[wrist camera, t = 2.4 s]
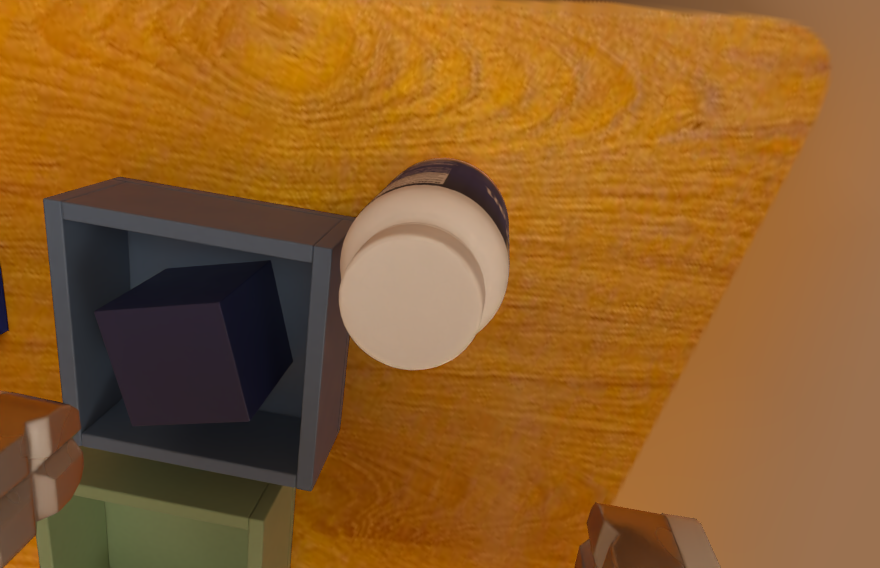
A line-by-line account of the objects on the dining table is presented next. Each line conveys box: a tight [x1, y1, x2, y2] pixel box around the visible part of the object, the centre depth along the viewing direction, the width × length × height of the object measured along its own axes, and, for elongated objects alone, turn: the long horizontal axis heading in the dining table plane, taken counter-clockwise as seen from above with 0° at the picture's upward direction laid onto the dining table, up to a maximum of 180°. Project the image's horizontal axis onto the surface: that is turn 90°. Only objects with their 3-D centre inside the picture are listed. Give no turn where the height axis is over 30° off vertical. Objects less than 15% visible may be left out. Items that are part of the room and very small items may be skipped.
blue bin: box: [43, 177, 356, 491], centre depth 25 cm, size 11×11×5 cm
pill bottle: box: [339, 158, 509, 370], centre depth 20 cm, size 5×5×10 cm
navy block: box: [94, 260, 293, 426], centre depth 25 cm, size 5×5×5 cm
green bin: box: [36, 445, 296, 568], centre depth 30 cm, size 11×11×5 cm
